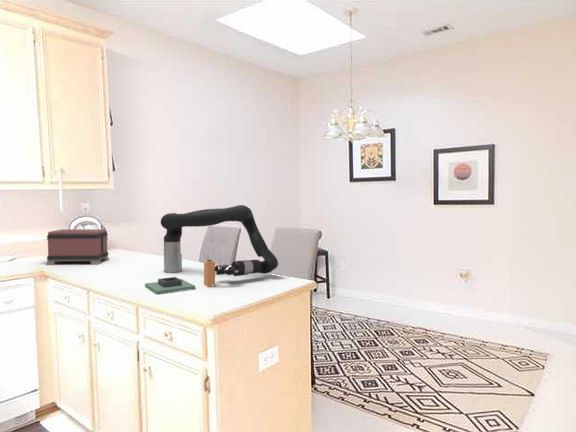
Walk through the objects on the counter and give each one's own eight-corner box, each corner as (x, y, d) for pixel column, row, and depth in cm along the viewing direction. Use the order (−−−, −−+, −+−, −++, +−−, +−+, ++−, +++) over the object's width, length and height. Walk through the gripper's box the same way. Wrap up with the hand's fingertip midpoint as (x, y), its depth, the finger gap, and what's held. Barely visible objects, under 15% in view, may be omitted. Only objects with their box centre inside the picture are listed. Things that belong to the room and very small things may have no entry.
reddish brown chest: (56, 260, 265) (55, 229, 264) (109, 259, 267) (109, 229, 266) (40, 265, 246) (39, 231, 245) (98, 265, 248) (97, 231, 247)
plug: (211, 284, 197) (211, 258, 197) (215, 285, 194) (214, 260, 193) (203, 285, 195) (203, 259, 194) (207, 287, 192) (207, 260, 191)
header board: (181, 282, 202) (181, 274, 202) (195, 289, 187) (195, 280, 187) (144, 286, 192) (144, 278, 191) (156, 294, 177) (156, 285, 177)
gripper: (235, 258, 210) (206, 261, 201) (249, 262, 199) (219, 265, 189) (235, 272, 211) (206, 276, 201) (249, 277, 199) (219, 281, 190)
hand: (212, 271), depth 195 cm, fingers open, 8 cm apart
